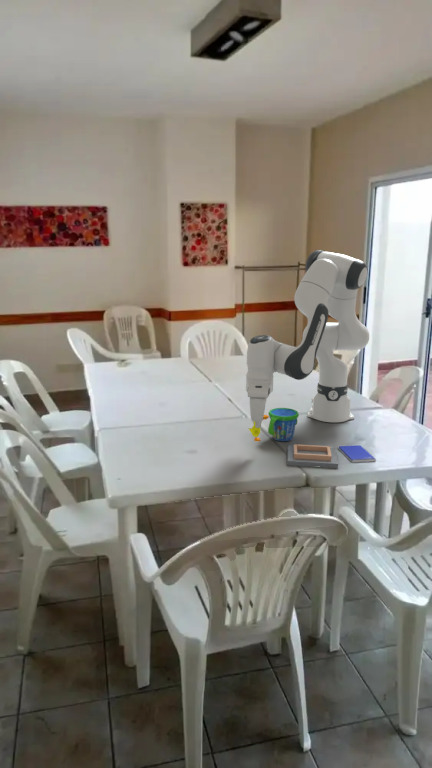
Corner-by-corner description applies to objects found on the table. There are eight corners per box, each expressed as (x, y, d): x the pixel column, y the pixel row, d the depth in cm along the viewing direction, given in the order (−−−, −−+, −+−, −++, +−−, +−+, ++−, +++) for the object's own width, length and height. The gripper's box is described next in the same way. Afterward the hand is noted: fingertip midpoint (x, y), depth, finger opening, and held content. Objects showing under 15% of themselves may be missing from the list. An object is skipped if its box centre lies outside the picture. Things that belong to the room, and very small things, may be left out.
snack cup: (279, 447, 197) (280, 419, 195) (257, 439, 205) (258, 412, 202) (307, 437, 207) (308, 410, 205) (285, 430, 215) (286, 404, 212)
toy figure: (266, 438, 191) (268, 404, 188) (268, 442, 187) (270, 407, 184) (247, 438, 190) (248, 404, 187) (248, 442, 187) (249, 407, 184)
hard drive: (375, 458, 186) (360, 444, 198) (352, 459, 184) (338, 445, 196) (375, 462, 186) (360, 449, 198) (351, 463, 185) (338, 450, 197)
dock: (287, 449, 195) (288, 441, 194) (334, 452, 193) (335, 444, 192) (287, 465, 182) (287, 456, 181) (337, 468, 180) (338, 459, 179)
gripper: (252, 377, 194) (251, 415, 198) (247, 393, 175) (246, 435, 178) (270, 378, 193) (269, 416, 197) (267, 394, 174) (266, 436, 177)
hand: (258, 425), depth 187 cm, fingers closed on toy figure, 2 cm apart
